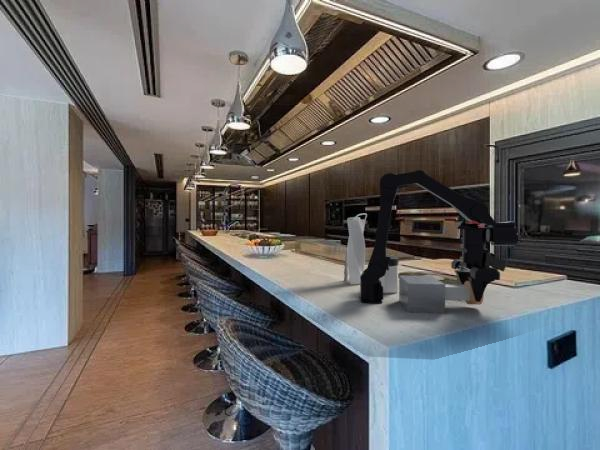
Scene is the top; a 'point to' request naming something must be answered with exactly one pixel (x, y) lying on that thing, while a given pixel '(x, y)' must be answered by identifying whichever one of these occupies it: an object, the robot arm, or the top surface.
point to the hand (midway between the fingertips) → (472, 298)
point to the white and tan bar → (461, 293)
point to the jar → (391, 277)
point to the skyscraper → (355, 251)
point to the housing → (422, 294)
